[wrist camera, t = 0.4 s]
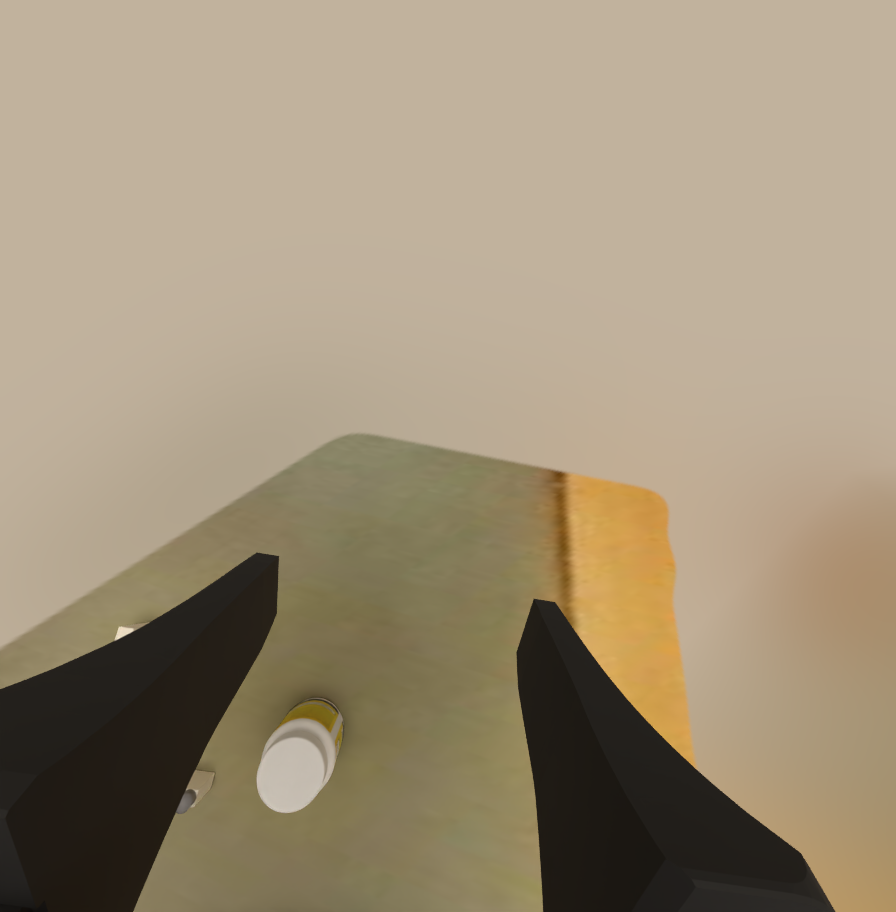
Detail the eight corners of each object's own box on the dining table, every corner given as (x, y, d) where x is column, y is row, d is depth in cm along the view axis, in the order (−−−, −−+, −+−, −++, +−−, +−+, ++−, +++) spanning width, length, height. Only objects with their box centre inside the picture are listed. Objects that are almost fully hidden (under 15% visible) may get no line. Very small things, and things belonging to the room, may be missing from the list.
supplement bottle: (273, 715, 35) (237, 754, 27) (331, 685, 36) (313, 713, 28) (295, 778, 34) (265, 838, 26) (354, 745, 35) (343, 793, 27)
